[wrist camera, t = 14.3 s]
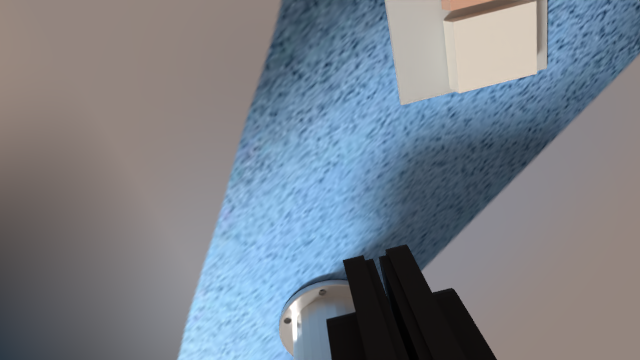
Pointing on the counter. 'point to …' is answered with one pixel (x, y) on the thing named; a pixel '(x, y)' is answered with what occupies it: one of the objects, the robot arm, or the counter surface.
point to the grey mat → (436, 44)
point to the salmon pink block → (460, 4)
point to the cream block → (491, 46)
